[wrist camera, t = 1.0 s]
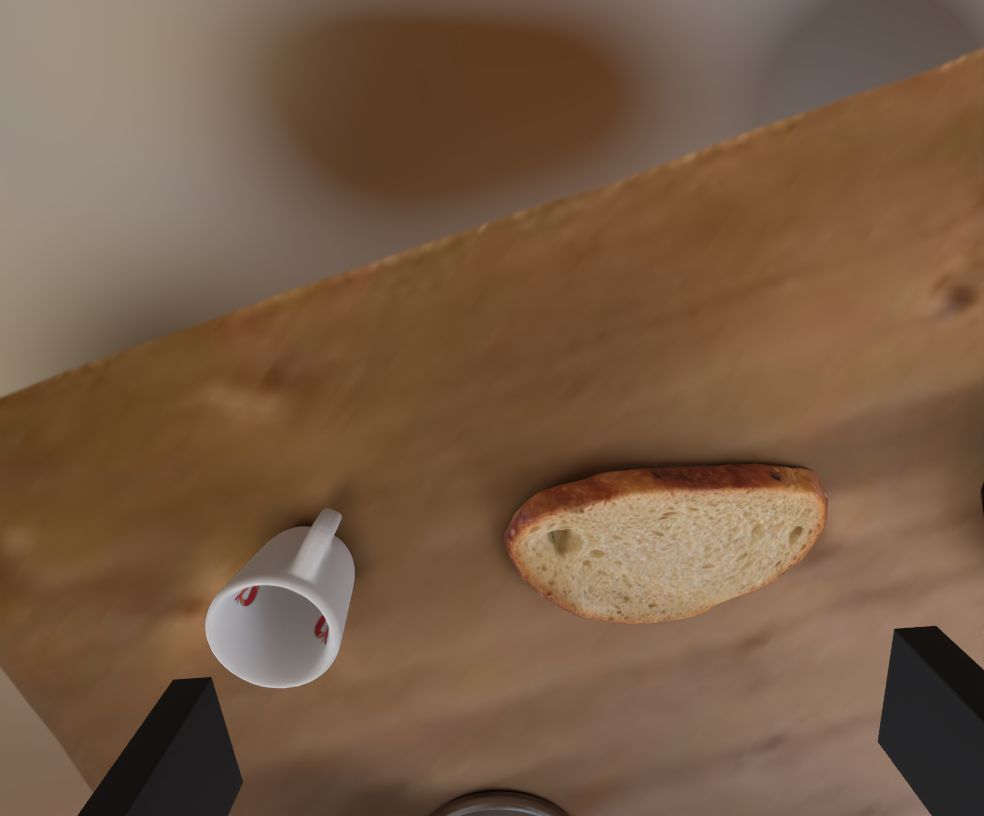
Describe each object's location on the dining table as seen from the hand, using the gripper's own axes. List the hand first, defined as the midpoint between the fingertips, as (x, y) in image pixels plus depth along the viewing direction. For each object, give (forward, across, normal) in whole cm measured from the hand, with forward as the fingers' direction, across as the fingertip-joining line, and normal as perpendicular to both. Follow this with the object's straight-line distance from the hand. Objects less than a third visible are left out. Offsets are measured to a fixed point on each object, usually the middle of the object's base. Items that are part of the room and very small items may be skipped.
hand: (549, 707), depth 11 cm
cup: (+27, +15, +12) cm, 33 cm away
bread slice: (+27, -9, +12) cm, 31 cm away
